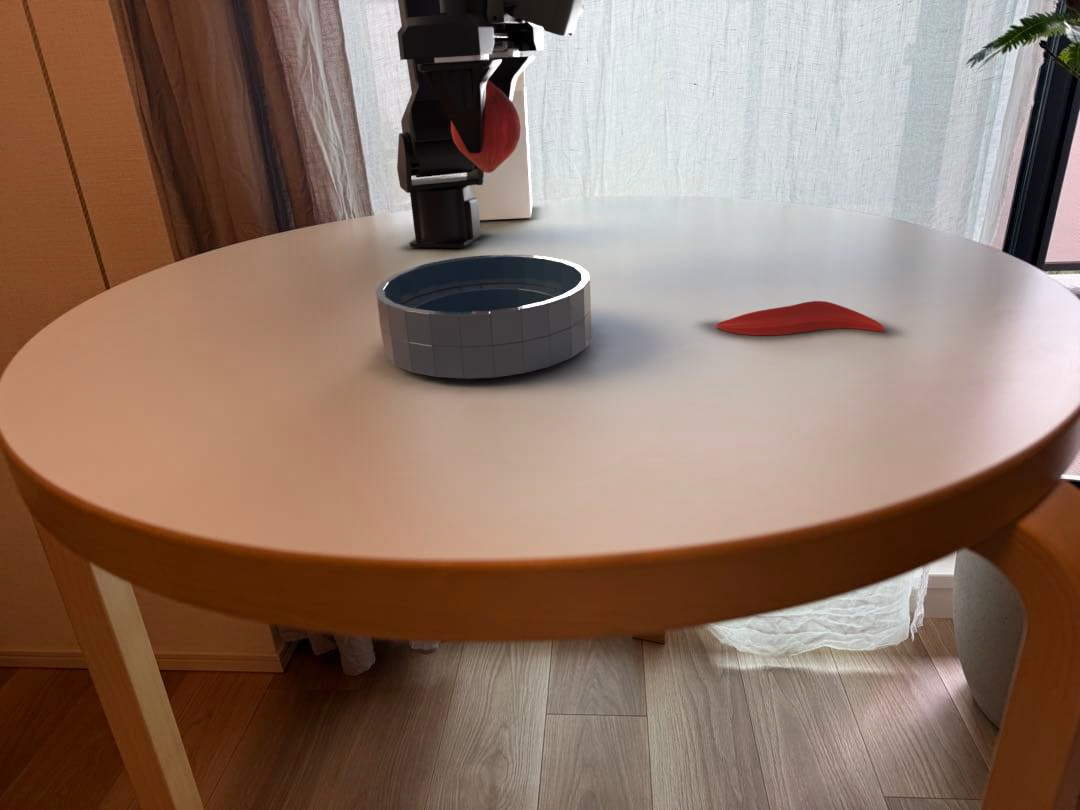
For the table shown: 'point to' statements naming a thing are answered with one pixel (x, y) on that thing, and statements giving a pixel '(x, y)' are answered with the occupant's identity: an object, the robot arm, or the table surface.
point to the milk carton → (509, 173)
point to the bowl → (485, 315)
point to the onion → (494, 131)
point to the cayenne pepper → (799, 320)
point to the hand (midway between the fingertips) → (487, 148)
